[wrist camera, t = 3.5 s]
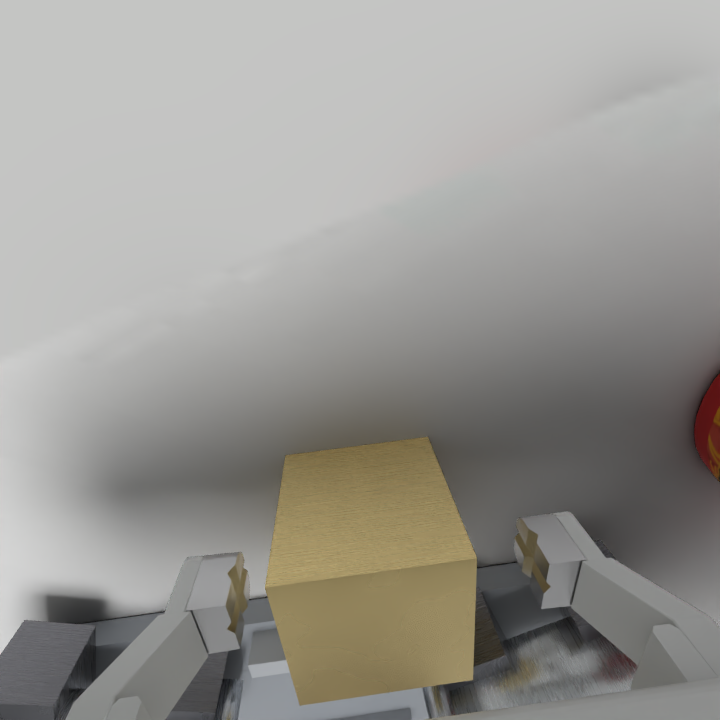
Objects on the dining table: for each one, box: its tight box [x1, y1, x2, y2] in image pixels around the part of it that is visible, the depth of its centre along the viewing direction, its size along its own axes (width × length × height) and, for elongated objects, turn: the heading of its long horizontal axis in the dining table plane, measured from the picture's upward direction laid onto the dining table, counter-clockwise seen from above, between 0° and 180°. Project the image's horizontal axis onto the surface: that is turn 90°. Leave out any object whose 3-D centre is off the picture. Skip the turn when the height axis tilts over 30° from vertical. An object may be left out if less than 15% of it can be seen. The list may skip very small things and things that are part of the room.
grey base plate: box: [82, 563, 563, 720], centre depth 18 cm, size 23×11×2 cm, turn 95°
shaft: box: [422, 540, 638, 719], centre depth 14 cm, size 8×5×4 cm, turn 115°
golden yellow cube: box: [265, 437, 477, 706], centre depth 12 cm, size 5×5×5 cm
